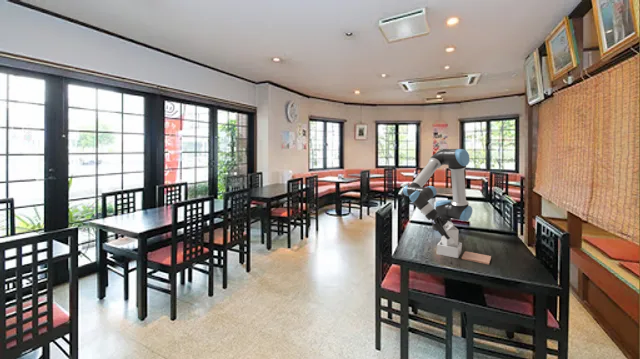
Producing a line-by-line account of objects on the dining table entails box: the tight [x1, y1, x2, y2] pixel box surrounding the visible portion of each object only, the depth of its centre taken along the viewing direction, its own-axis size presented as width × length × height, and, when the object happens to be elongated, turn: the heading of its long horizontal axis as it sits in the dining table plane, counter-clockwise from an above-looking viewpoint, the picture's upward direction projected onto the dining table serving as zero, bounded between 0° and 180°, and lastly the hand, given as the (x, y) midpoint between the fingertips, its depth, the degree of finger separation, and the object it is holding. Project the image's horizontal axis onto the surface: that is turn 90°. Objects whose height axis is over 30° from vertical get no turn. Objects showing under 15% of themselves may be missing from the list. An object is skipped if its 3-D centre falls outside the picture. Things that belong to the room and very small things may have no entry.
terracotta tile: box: [461, 251, 492, 265], centre depth 168 cm, size 12×14×1 cm
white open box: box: [436, 239, 463, 259], centre depth 176 cm, size 12×12×6 cm
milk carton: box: [440, 221, 460, 248], centre depth 176 cm, size 7×7×19 cm
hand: (455, 240), depth 174 cm, fingers closed on milk carton, 10 cm apart
